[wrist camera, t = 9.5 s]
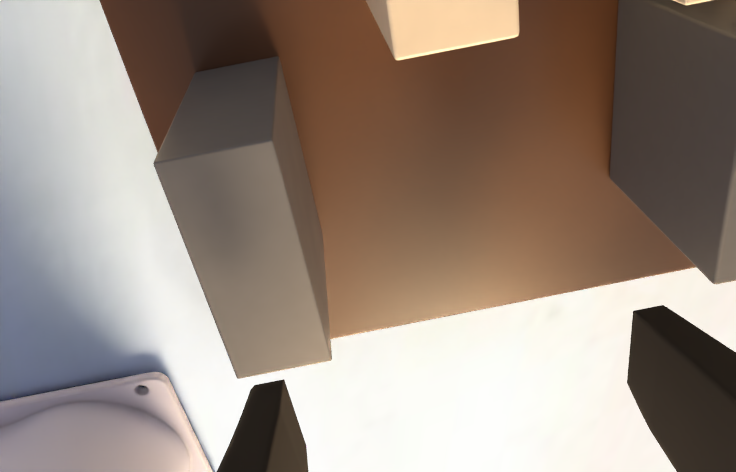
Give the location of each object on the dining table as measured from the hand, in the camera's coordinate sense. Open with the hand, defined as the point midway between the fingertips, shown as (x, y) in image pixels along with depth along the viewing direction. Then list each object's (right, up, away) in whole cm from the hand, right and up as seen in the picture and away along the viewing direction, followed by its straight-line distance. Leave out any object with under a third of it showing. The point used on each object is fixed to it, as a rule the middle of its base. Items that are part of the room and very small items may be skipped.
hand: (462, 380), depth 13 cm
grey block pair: (+1, +7, +7) cm, 10 cm away
